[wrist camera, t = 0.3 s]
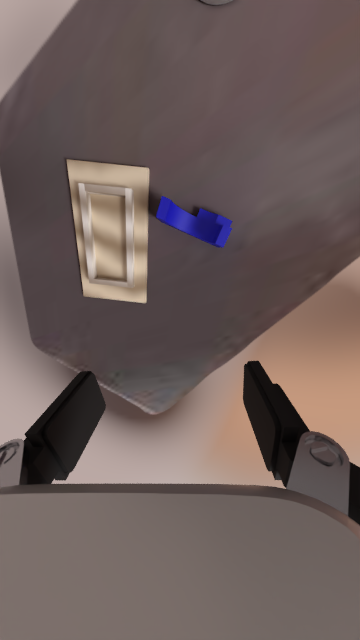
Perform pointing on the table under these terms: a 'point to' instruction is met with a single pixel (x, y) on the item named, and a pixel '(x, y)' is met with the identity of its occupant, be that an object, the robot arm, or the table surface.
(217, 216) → the blue curved piece
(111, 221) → the clip cradle
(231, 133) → the table surface
